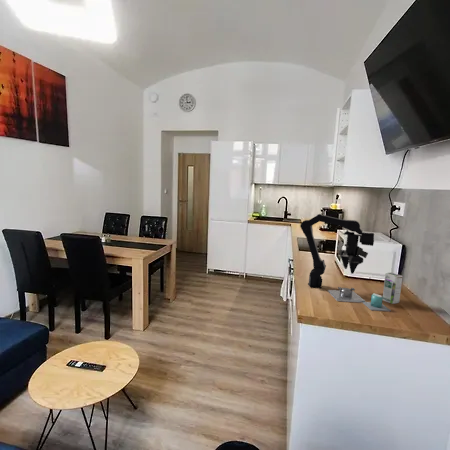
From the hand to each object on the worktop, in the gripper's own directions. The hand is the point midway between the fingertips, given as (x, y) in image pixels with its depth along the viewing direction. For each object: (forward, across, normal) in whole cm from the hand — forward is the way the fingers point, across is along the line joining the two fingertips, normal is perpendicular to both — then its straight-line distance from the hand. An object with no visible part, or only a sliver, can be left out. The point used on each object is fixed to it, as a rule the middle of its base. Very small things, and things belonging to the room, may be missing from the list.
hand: (348, 271), depth 157 cm
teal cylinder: (+11, -20, -6) cm, 24 cm away
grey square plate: (+12, -8, +4) cm, 15 cm away
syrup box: (+12, -11, -18) cm, 24 cm away
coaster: (+12, -20, -6) cm, 24 cm away
